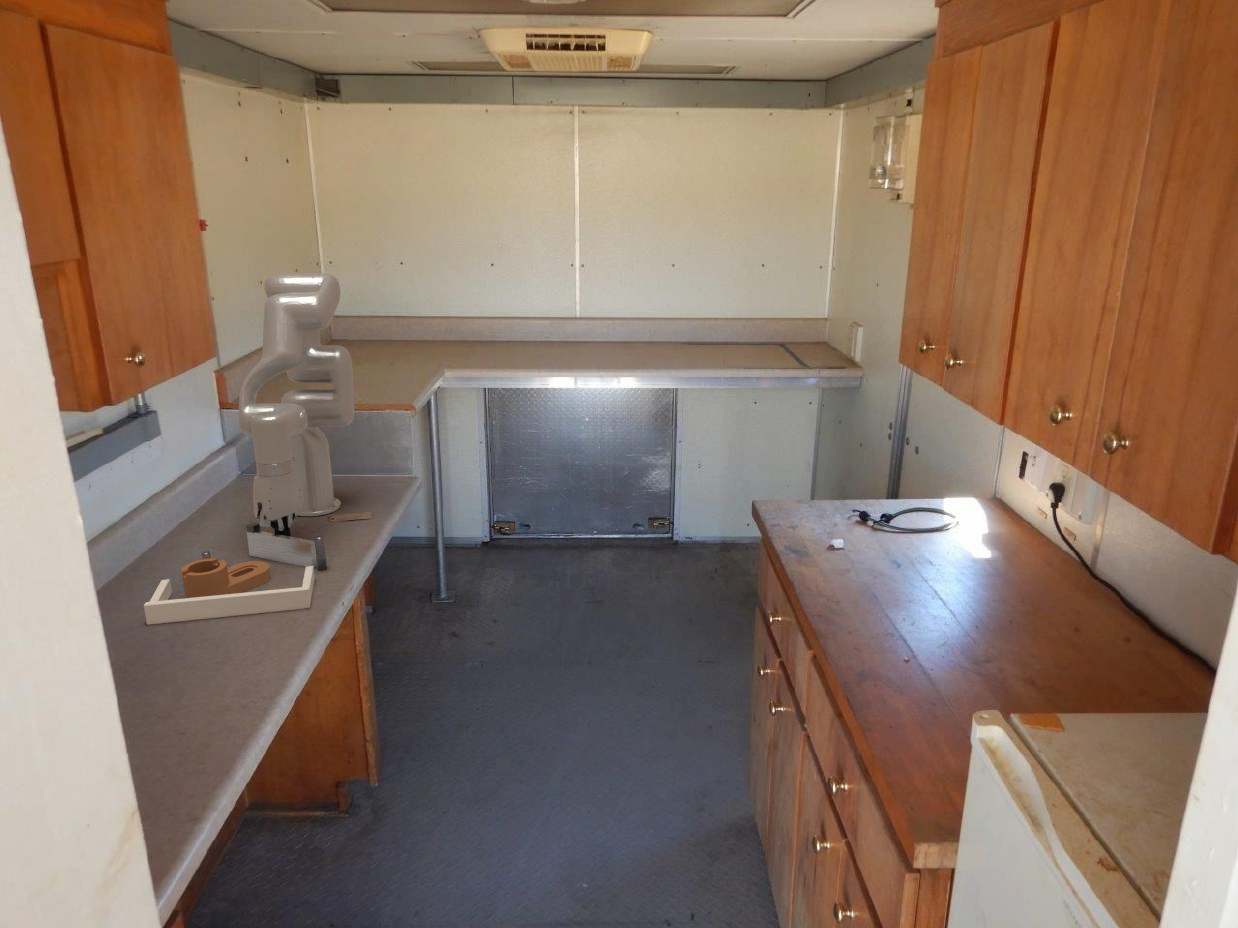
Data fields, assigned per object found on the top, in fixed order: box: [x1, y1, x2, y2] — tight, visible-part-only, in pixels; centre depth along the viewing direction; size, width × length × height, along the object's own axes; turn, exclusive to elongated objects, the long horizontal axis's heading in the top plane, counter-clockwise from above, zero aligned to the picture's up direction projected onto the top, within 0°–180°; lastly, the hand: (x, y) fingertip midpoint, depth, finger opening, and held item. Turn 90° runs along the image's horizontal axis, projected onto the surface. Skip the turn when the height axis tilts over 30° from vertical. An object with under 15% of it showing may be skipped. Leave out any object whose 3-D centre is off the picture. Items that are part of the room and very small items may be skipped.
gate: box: [245, 522, 317, 569], centre depth 194 cm, size 18×2×8 cm, turn 68°
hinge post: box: [313, 534, 328, 572], centre depth 190 cm, size 2×2×8 cm
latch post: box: [201, 550, 212, 560], centre depth 186 cm, size 2×2×6 cm
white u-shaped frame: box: [143, 566, 316, 625], centre depth 176 cm, size 14×30×4 cm, turn 105°
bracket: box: [180, 558, 271, 599], centre depth 181 cm, size 18×8×7 cm, turn 149°
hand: (284, 544), depth 198 cm, fingers closed
